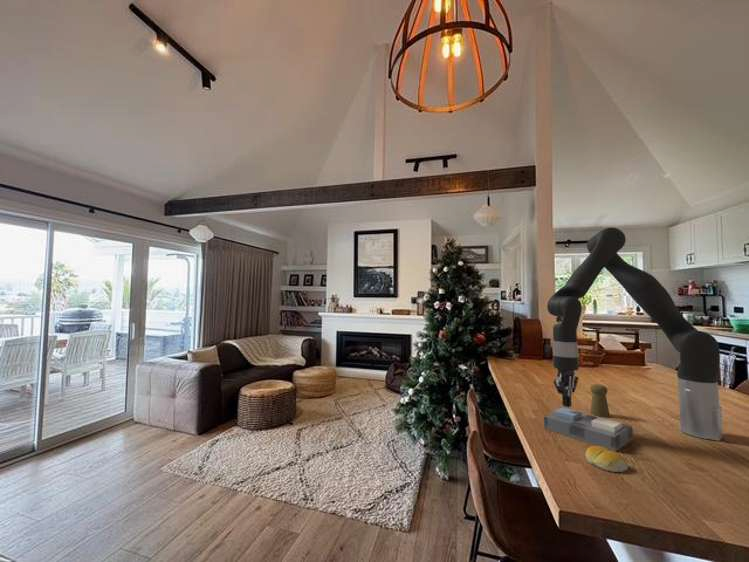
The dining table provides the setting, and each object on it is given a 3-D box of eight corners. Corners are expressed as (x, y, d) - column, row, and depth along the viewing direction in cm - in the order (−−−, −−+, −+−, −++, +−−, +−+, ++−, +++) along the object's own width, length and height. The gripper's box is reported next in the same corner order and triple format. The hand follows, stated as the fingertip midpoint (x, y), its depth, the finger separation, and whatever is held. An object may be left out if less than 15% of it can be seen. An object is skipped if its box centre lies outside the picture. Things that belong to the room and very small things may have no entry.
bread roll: (601, 454, 89) (601, 440, 90) (634, 471, 81) (633, 455, 81) (577, 457, 88) (576, 442, 88) (607, 475, 79) (607, 458, 79)
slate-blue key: (581, 419, 107) (581, 412, 107) (573, 423, 103) (573, 415, 104) (562, 414, 112) (562, 407, 112) (554, 418, 108) (554, 410, 109)
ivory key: (622, 431, 98) (621, 422, 98) (614, 435, 94) (614, 427, 94) (599, 424, 103) (599, 416, 103) (591, 429, 99) (591, 420, 99)
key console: (632, 439, 99) (632, 426, 99) (615, 451, 91) (614, 437, 91) (564, 419, 115) (564, 408, 115) (544, 428, 107) (544, 416, 107)
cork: (613, 417, 117) (611, 387, 118) (594, 416, 118) (593, 386, 119) (604, 412, 123) (603, 383, 124) (587, 411, 124) (586, 382, 125)
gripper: (567, 358, 102) (569, 413, 101) (586, 354, 110) (588, 405, 109) (544, 354, 108) (545, 406, 107) (563, 351, 116) (564, 400, 115)
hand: (567, 406), depth 108 cm, fingers closed
